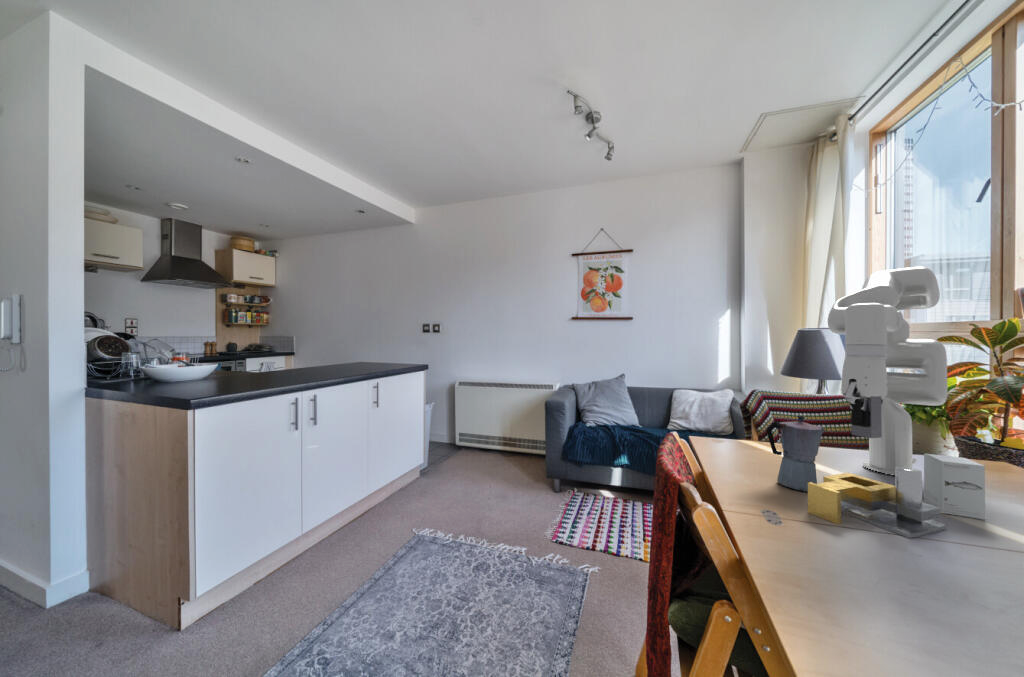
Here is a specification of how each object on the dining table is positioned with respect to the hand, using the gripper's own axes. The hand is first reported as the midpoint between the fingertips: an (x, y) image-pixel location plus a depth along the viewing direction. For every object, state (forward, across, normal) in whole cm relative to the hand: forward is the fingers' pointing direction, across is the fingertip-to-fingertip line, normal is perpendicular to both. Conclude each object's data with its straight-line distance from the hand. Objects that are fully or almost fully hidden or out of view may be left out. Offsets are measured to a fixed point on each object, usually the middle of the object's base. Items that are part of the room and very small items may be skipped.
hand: (866, 424), depth 90 cm
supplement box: (+20, -17, +8) cm, 28 cm away
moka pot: (+20, +4, -14) cm, 25 cm away
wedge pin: (+3, 0, 0) cm, 3 cm away
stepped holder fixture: (+20, +8, +4) cm, 22 cm away
